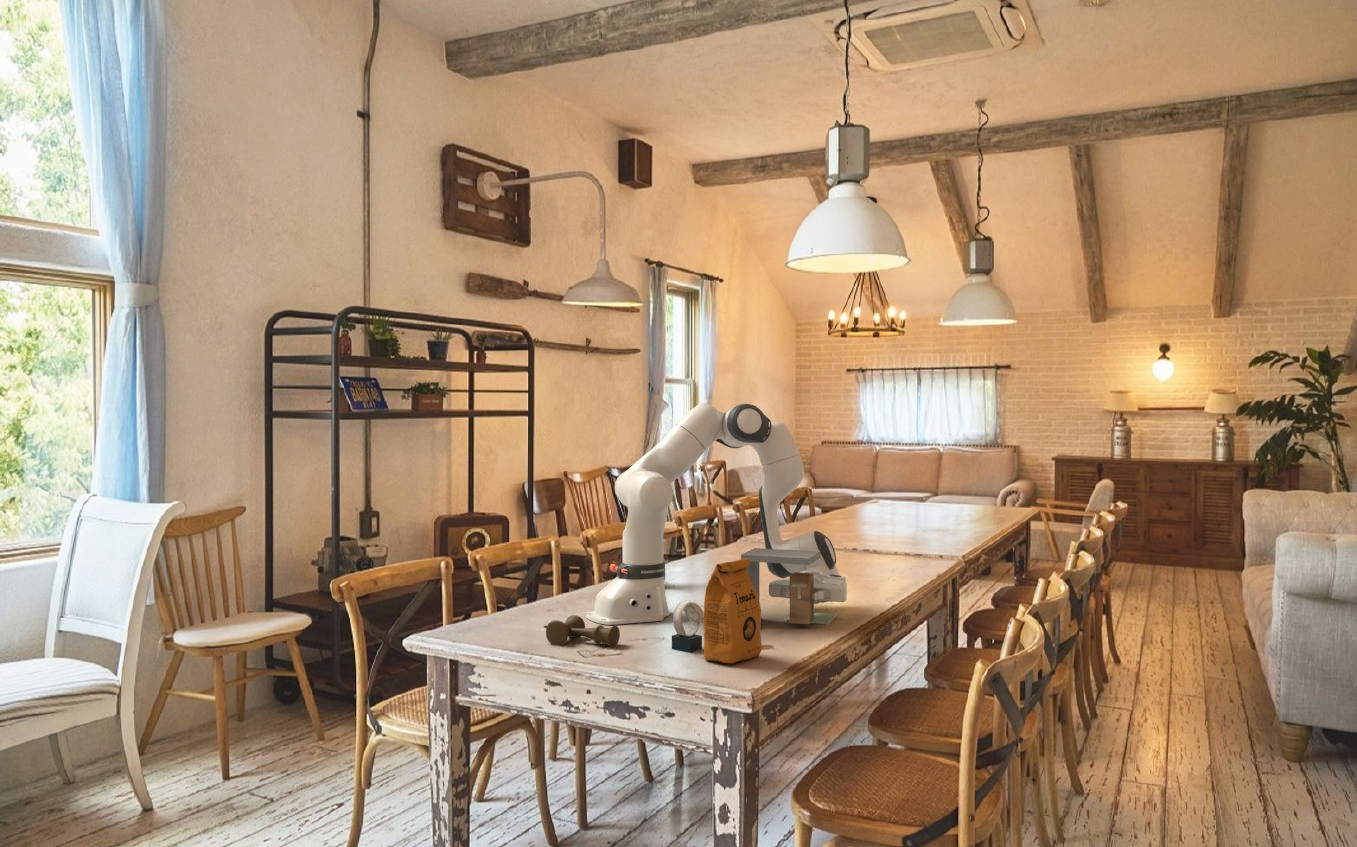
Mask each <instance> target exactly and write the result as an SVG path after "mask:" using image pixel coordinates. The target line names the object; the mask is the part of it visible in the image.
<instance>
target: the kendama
mask: <svg viewBox="0 0 1357 847" xmlns="http://www.w3.org/2000/svg"><path fill="white" fill-rule="evenodd" d="M543 628H544V629H545V637H546V639H547V641H548V642H549V643H550V645H553V646H562V645H564V644H566V642H567V640H568V637H569V638H573V639H575V638H576V639H577V638H581V637H584V638H587V639H589V640H591V641H593V642H594V643H595V644H597V645H598V644H601V643H603V644H605V645H607V646H608V647H610V648H614V647H616V646H617V645H619V644H618V643H619V641H620V636H621V633H620V628H619V627H618V626H617V625H611V627H605V626H604V625H603V624H602V625H601V624H598V625H597V626H596V627H592V628H591V627H589V628H587V627H586V623H585V620H584V619H583V618H582V617H581V616H580V615H572V614H571V615H570V616H568V617H567V619H566V620H565V622H563V621H561V620H557V619H556V620H552V621H550V622H548V623H547V625H544V626H543Z"/></svg>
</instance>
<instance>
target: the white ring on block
mask: <svg viewBox="0 0 1357 847" xmlns="http://www.w3.org/2000/svg"><path fill="white" fill-rule="evenodd" d="M683 612H684V614H685V615H686V616H687V618H688V619H689V621H690V622H691V623H690V626H689V628H688V630H687V631H686V630H685V627H684V624H683V621H682V613H683ZM672 615H673V616H672V624H673V628H674V630H675V632H676V634H673V635H671V650H674V651H675V650H676V651H680V652H684V653H690V654H691V653H695V652H697V651H700V650H703V635H699V634H697V632H698V631H699V629H700V625H701V623H702V621H703V617H704V609H702V607H701V606H700V605H699V604H698V603H697V602H695V601H691V600H688V601H687V600H682V601H679V602H678V604H676V607H675V608H674V610H673V614H672Z"/></svg>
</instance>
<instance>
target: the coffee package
mask: <svg viewBox="0 0 1357 847" xmlns="http://www.w3.org/2000/svg"><path fill="white" fill-rule="evenodd" d="M749 565H750V562H749V560H748V558H746V559H741V558H740V559H737V560H732V561H726V562H720V563H717V564H715V567H714V569H713V572H712V573H711V577H710V579H709V580H708V582H707V585H706V588H705V594H704V604H703V643H704V644H703V655H704V657H703V659H704V660H705V661H709V662H718V663H722V664H734V663H737V662H742V661H748V660H750V659H753V658H758V657H759V656H760V654H761V652H762V630H761V628H762V627H761V623H762V609H761V608H762V607H761V603H760V597H759V598H758V596H757V593H756V590H755V588H754V586H753V585H752V583H751V580H750V577H749V574H748V571H747V570H746V567H748V566H749Z"/></svg>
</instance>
